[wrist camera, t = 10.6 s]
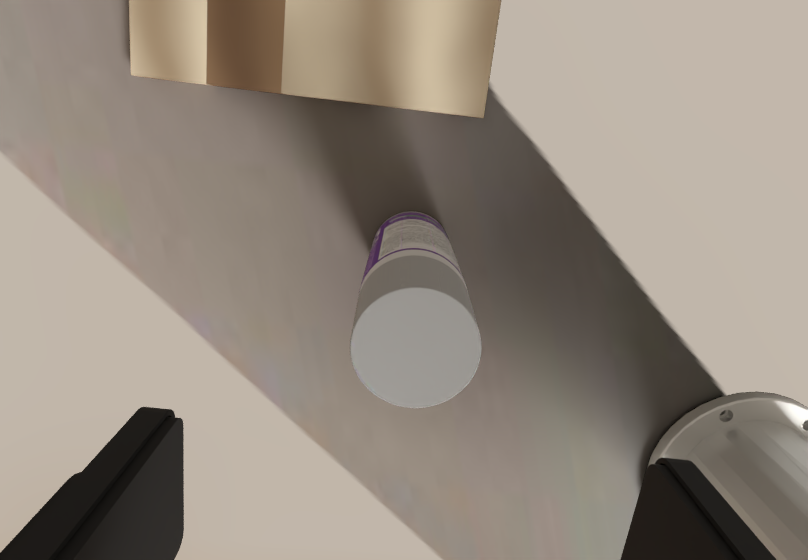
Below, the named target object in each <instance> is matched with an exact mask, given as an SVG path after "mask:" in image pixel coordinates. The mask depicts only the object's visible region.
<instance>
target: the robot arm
mask: <svg viewBox="0 0 808 560" xmlns="http://www.w3.org/2000/svg"><path fill="white" fill-rule="evenodd" d="M183 504H184V503H183V421H182V419H181V418H175V415H174V412H173V411H172V410H169V409H160V408H149V407H141V408H140V409H138V410H137V412H136V413H135V414H134V415H133V416H132V417H131V418H130V419H129V420H128V422H127V423H126V424H125V425H124V426H123V427H122V428H121V429H120V430H119V431H118V433H117V434H116V435H115V436H114V437H113V438H112V439H111V440H110V442H108V444H107V445H106V446H105V447H104V448H103V449H102V450H101V451H100V452H99V453H98V455H97V456H96V457H95V458H94V459H93V460H92V461H91V462H90V463H89V464H88V466H87V467H86V468H85V469H84V470H83V471H82V472H80V473H77V474H74V475H73V476H72V477H71V478H70V479H68V480H67V482H66V483H65V484H64V485H63V486H62V487H61V488H60V489H59V490H58V491H57V492H56V493H55V494H54V495H53V496H52V498H51V499H50V500H49V501H48V502H47V503H46V504H45V505H44V506H43V507H42V509H40V511H39V512H38V513H37V514H36V515H35V516H34V517H33V518H32V519H31V520H30V522H28V524H27V525H26V526H25V527H24V528H23V529H22V530H21V531H20V532H19V533H18V535H16V537H15V538H14V539H13V540H12V541H11V542H10V543H9V544H8V545H7V546H6V547H5V548H4V550H3V551H2V552H1V553H0V560H174V559H175V557H176V555H177V553H178V551H179V548H180V545H181V542H182V538H183V530H184V526H183V525H184V522H183V521H184V519H183V518H184V517H183V515H184V510H183V507H184V505H183ZM621 560H808V408H807V407H806V406H804V405H802V404H800V403H799V402H797V401H795V400H793V399H791V398H788V397H785V396H781V395H778V394H774V393H764V392H746V393H736V394H732V395H727V396H723V397H719V398H717V399H714V400H712V401H709V402H707V403H704V404H702V405H700V406H699V407H697V408H695V409H694V410H692V411H690V412H689V413H687V414H685V415H684V416H683V417H682V418H681V419H680V420H678V421H677V422H676V423H675V424H674V425H672V426H671V428H670V429H669V430H668V431H667V432H666V433H665V435H664V436H663V437H662V438H661V439H660V441H659V443H658V444H657V446H656V448H655V450H654V451H653V453H652V455H651V458H650V461H649V464H648V467H647V470H646V473H645V476H644V480H643V483H642V487H641V490H640V494H639V497H638V501H637V504H636V508H635V511H634V515H633V518H632V522H631V525H630V529H629V532H628V536H627V539H626V543H625V546H624V550H623V553H622V557H621Z"/></svg>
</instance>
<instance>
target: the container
mask: <svg viewBox="0 0 808 560" xmlns="http://www.w3.org/2000/svg"><path fill="white" fill-rule="evenodd" d="M481 349H482V344H481V336H480V332H479V328H478V325H477V322H476V318H475V315H474V311H473V308H472V304H471V301H470V297H469V293H468V290H467V286H466V283H465V281H464V278H463V276H462V273H461V270H460V268H459V265H458V262H457V260H456V257H455V255H454V252H453V249H452V247H451V244H450V242H449V239H448V236H447V234H446V232H445V230H444V229H443V227H442V226H441V225H440V224H439V223H438V222H437V221H436V220H435V219H434V218H432V217H431V216H429V215H427V214H424V213H421V212H415V211H408V212H402V213H398V214H396V215H394V216H392V217H390V218H389V219H387V220H386V221H385V222H384V223H383V224H382V225H381V226H380V228H379V229H378V231H377V233H376V235H375V237H374V240H373V244H372V247H371V251H370V255H369V258H368V262H367V265H366V269H365V273H364V276H363V280H362V283H361V287H360V291H359V297H358V302H357V308H356V313H355V318H354V324H353V329H352V335H351V341H350V355H351V360H352V364H353V367H354V370H355V372H356V374H357V376H358V377H359V379H360V380H361V382H362V383H363V385H364V386H365V387H366V388H367V389H368V390H369V391H370V392H372V393H373V394H374V395H375V396H377V397H378V398H380V399H382V400H384V401H386V402H388V403H390V404H393V405H396V406H400V407H406V408H425V407H430V406H435V405H438V404H441V403H443V402H445V401H447V400H449V399H451V398H453V397H454V396H456V395H457V394H458V393H460V392H461V391H462V390H463V389H464V388H465V387H466V386H467V385H468V383H469V382H470V381H471V379H472V378H473V376H474V374H475V372H476V370H477V368H478V365H479V362H480V358H481Z"/></svg>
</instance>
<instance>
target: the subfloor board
mask: <svg viewBox="0 0 808 560" xmlns="http://www.w3.org/2000/svg"><path fill="white" fill-rule="evenodd" d="M500 5H501V0H129V21H130V59H131V75H134V76H139V77H146V78H154V79H163V80H171V81H179V82H187V83H195V84H204V85H212V86H220V87H228V88H237V89H245V90H253V91H261V92H270V93H278V94H286V95H294V96H302V97H311V98H319V99H327V100H335V101H344V102H352V103H360V104H368V105H377V106H385V107H393V108H401V109H409V110H418V111H426V112H434V113H442V114H451V115H459V116H467V117H475V118H484V112H485V105H486V98H487V92H488V85H489V78H490V71H491V65H492V58H493V52H494V45H495V39H496V32H497V25H498V19H499V12H500Z"/></svg>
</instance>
